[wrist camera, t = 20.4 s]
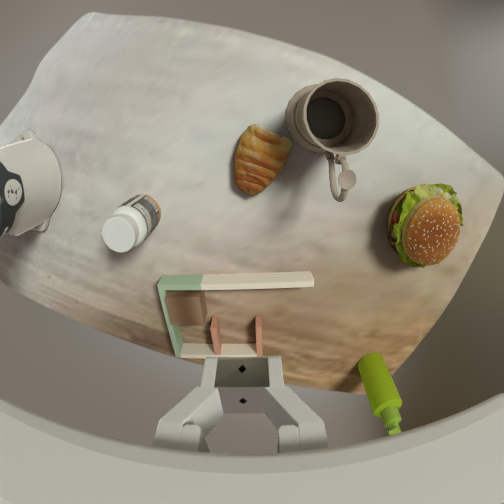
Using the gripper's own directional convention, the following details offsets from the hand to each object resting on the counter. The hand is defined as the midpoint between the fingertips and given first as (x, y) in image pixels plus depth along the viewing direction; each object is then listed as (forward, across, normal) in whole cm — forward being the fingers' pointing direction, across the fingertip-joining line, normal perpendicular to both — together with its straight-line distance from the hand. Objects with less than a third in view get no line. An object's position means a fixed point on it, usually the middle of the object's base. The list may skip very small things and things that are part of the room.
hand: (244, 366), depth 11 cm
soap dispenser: (+31, -24, +36) cm, 53 cm away
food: (+31, -27, +4) cm, 42 cm away
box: (+31, +3, +21) cm, 38 cm away
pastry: (+32, -2, -5) cm, 32 cm away
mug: (+31, -10, -8) cm, 34 cm away
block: (+31, +11, +18) cm, 38 cm away
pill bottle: (+31, +16, +2) cm, 35 cm away
